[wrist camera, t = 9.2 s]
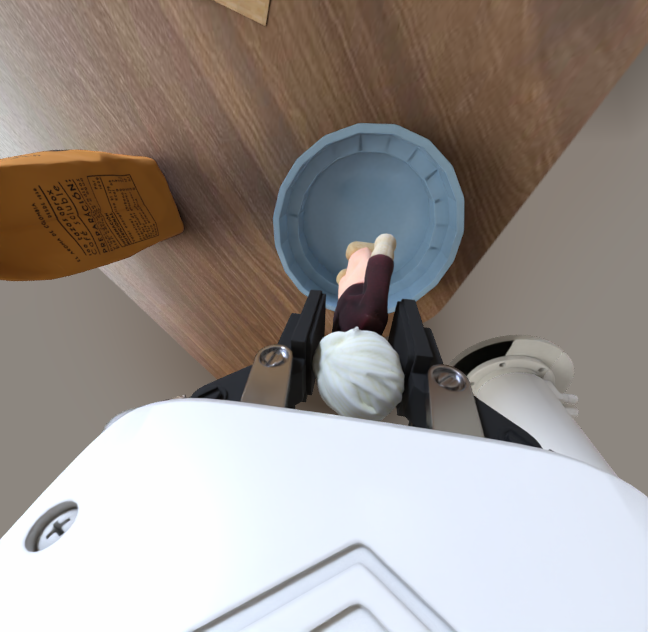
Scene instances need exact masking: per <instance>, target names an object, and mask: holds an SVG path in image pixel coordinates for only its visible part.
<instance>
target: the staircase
mask: <svg viewBox="0 0 648 632" xmlns="http://www.w3.org/2000/svg"><path fill="white" fill-rule="evenodd" d="M214 1H216V2H218V3H220V4H222V5H224V6H226V7H228V8H230V9H232V10H234V11H236V12H238V13H240V14H242V15H244V16H246V17H248V18H250V19H252V20H254V21H256V22H258V23H260V24H262V25H264V26H266V19H267V13H268V6H269V0H214Z"/></svg>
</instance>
